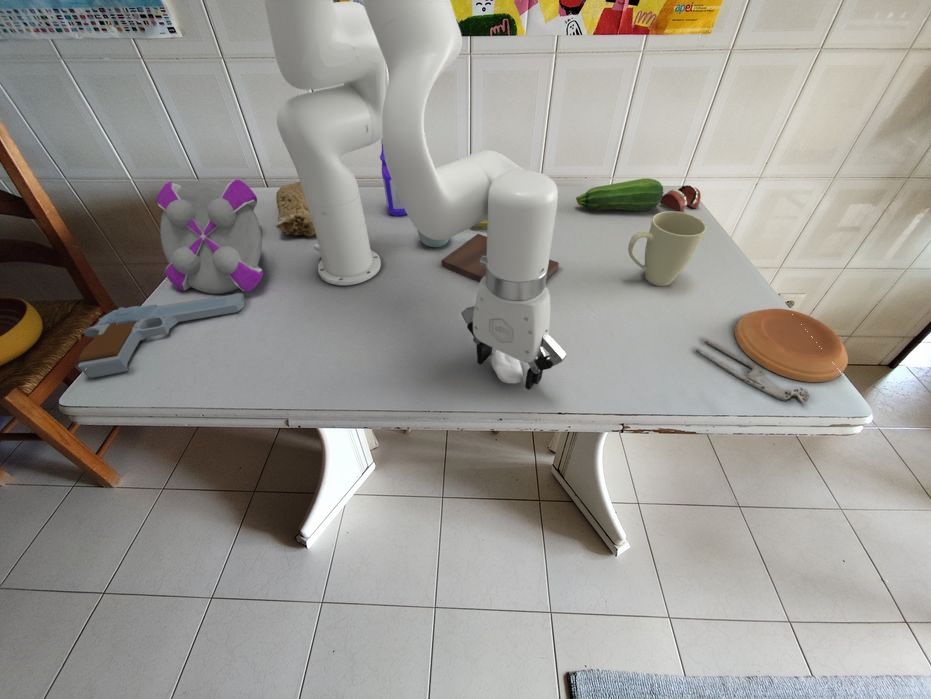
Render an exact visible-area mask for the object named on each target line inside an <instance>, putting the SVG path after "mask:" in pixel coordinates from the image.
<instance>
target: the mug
mask: <svg viewBox="0 0 931 699" xmlns="http://www.w3.org/2000/svg"><path fill="white" fill-rule="evenodd" d="M706 231H707V225H706V223H705V222H704V221H703V220H702V219H701V218H699V217H697V216H695V215H693V214H690V213H687V212H684V211H683V212H677V211H675V210H667V211H662V212H658V213H656V214H654V216H653V217H652V219H651V223H650V227H649V230H648V232H646V231H638V232H636V233H635V234H634V235H632V236H631V238H630V240H629V242H628V246H627V251H628V255H629V257H630V258H631V260H632V261H633V262H634V263H635V264H636V265H637V266H638V267H639V268H640V269H642V270H644V278H645V280H646V281H647V282H648V283H649V284H651V285H654V286H656V287H657V286H658V287H666V286H669V285H670V284H671V283H672V282H673V281H674V280H675V279H676V278H677V276H678V275H679V274H680V273H681V272H682V271H683V270H684V269H685V267H687V265H688V264H689V262H690V260H691V259H692V258H693V256H694V254H695V252H696V250H697V249H698V246H699V244H700V242H701V240H702V239H703V237H704V235H705V233H706ZM641 238H646V239H647V240H646V244H645V250H644V264H642V263H641V262H640V261H638V260H637V259H636V257H635V256H634V254H633V250H634V246H635V244H636V243H637V241H638V240H639V239H641Z"/></svg>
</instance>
